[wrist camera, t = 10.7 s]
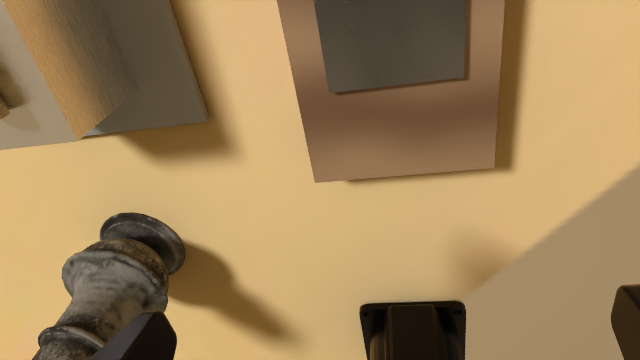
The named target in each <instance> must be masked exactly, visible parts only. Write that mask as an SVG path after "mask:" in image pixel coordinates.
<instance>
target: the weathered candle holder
mask: <svg viewBox="0 0 640 360" xmlns="http://www.w3.org/2000/svg"><path fill="white" fill-rule="evenodd" d="M100 240H101V241H99V242H97V243H95V244H93V245H91V246H89V247H87V248H86V249H85V250H83V251H82V252H79V253H76V254H74V255H73V256H71V257H70V258H69V259H67V261H66V263H65V264H64V266H63V268H62V279H63V282H64V285H65V288H66V289H67V291H68V292H69V294H70V295H71V297H72V300H71V303H70V305H69V306H68V308H67V309H66V310H65V312H64V313H63V314H62V316H61V317H60V319H59V320H58V321H57V323H56V324H55V326H53V327H49V328H46V329H45V330H43V331H42V332H41V333H40V335H39V337H38V344H39V346H40V349H39V351H38V352H37V353H36V355H35V356H34V358H33V359H32V360H88V359H90V358H91V357H92V356H93V355H94V354H95V353H96V352H97V351H99V350H100V349H101V348H102V347H103V346H104V345H105V344H106V343H108V342H109V341H110V340H111V339H112V338H113V337H114V336H115V335H117V334H118V333H119V332H120V331H121V330H122V329H123V328H124V327H126V326H127V325H128V324H129V323H130V322H131V321H132V320H134V319H135V318H136V317H137V316H138V315H139V314H141V313H142V312H145V311H162V312H163V313H164V312H165V310H166V307H167V304H168V296H167V292H168V275H171V274H173V273H175V272H176V271H178V270H179V268H180V267H181V266H182V264H183V262H184V258H185V251H184V247H183V244H182V242H181V240H180V239H179V237H178V236H177V235H176V233H175V232H174V231H173V230H172V229H170V228H169V227H168V226H167V225H166V224H164V223H162V222H160V221H159V220H157V219H155V218H152V217H150V216H147V215H144V214H138V213H120V214H117V215H114V216H112V217H110V218H109V219H108V220H106V221H105V222H104V224H103V226H102V228H101V230H100Z"/></svg>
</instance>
